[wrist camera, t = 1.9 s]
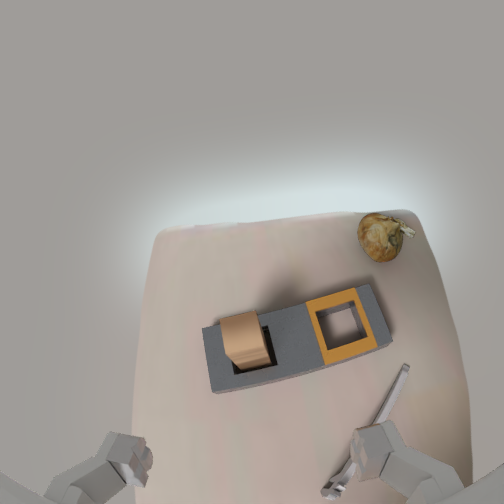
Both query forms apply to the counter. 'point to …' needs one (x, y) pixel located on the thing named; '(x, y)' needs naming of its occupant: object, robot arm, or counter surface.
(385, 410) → the caliper
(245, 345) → the peg
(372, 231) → the onion
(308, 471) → the counter surface
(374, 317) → the rail
